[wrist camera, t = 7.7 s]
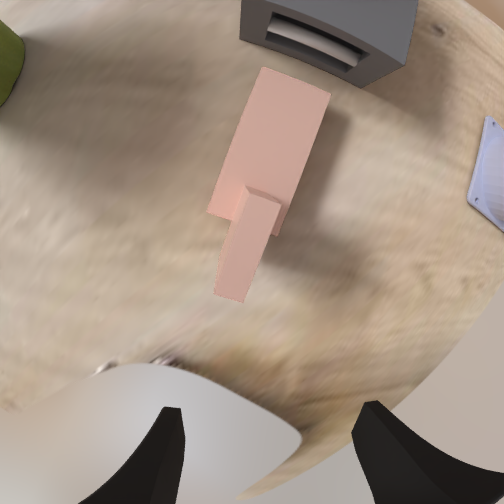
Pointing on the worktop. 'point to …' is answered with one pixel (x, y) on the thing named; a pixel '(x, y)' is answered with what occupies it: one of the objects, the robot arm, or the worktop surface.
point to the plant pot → (9, 60)
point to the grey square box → (334, 33)
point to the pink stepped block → (263, 172)
